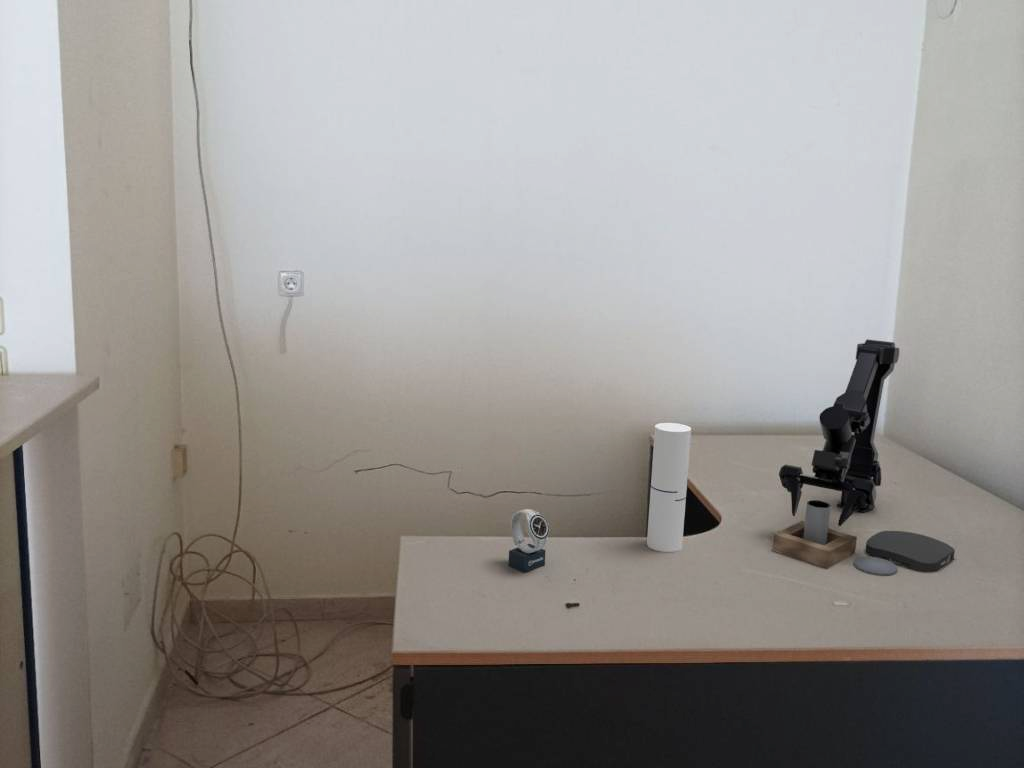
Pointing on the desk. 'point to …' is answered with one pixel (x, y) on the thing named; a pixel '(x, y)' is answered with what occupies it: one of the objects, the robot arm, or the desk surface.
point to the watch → (528, 554)
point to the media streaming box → (910, 550)
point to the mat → (875, 566)
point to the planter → (817, 521)
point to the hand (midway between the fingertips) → (815, 520)
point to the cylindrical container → (668, 486)
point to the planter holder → (814, 546)
